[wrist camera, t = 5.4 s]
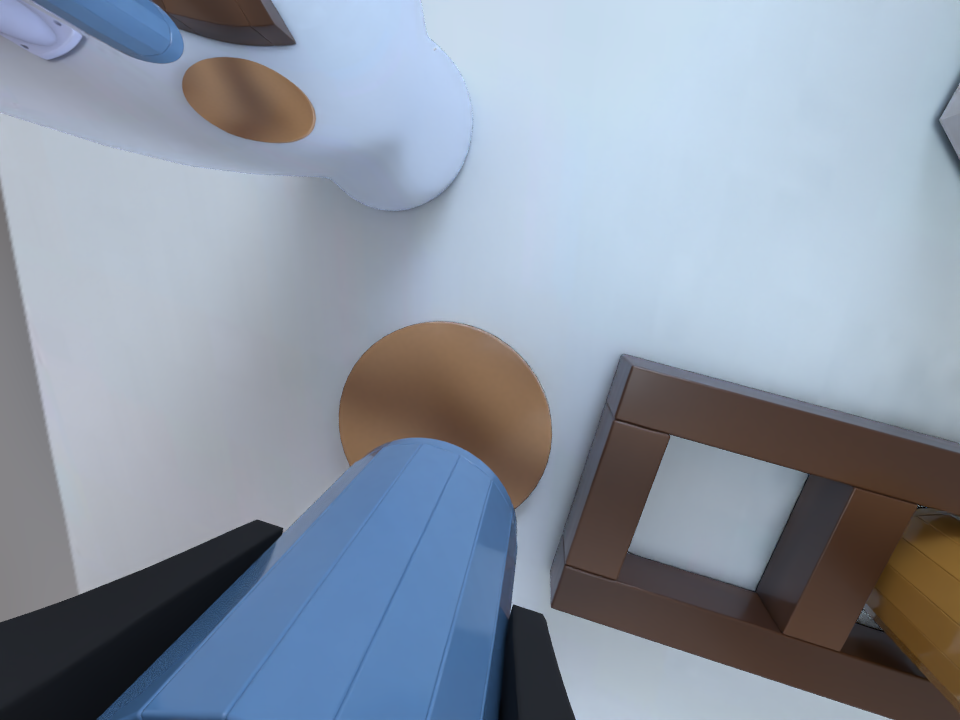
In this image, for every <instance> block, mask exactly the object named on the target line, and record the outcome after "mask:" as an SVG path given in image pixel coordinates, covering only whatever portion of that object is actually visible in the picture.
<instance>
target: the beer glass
mask: <svg viewBox="0 0 960 720" xmlns="http://www.w3.org/2000/svg"><path fill="white" fill-rule="evenodd" d="M0 113H2V114H5V115H9V116H12V117H15V118H18V119H21V120H24V121H28V122H31V123H34V124H37V125H40V126H44V127H47V128H50V129H53V130H56V131H60V132H63V133H66V134H69V135H72V136H76V137H79V138H82V139H85V140H88V141H92V142H95V143H98V144H101V145H105V146H108V147H112V148H116V149H120V150H124V151H129V152H133V153H137V154H141V155H145V156H149V157H153V158H157V159H162V160H166V161H170V162H174V163H178V164H182V165H187V166H192V167H199V168H206V169H214V170H222V171H230V172H238V173H246V174H256V175H277V176H299V177H323V178H329V179H331V180H332V181H333V182H334V183H335V184H336V185H337V186H338V187H339V188H340V189H341V190H343V191H344V192H345V193H346V194H347V195H349V196H350V197H352V198H353V199H355V200H356V201H358V202H360V203H362V204H364V205H366V206H369V207H372V208H375V209H379V210H386V211H401V210H407V209H412V208H415V207H418V206H420V205H423V204H425V203H427V202H429V201H431V200H432V199H434V198H435V197H437V196H438V195H439V194H441V193H442V192H443V191H444V190H445V189H446V188H447V187H448V186H449V185H450V184H451V182H452V181H453V180H454V179H455V177H456V176H457V174H458V173H459V171H460V169H461V167H462V166H463V164H464V161H465V159H466V156H467V153H468V150H469V147H470V143H471V137H472V129H473V113H472V105H471V99H470V95H469V92H468V89H467V86H466V83H465V81H464V79H463V77H462V75H461V73H460V71H459V70H458V68H457V66H456V65H455V64H454V62H453V61H452V59H451V58H450V57H449V56H448V55H447V54H446V53H445V52H444V51H443V50H442V49H441V48H440V47H439V46H438V45H437V44H436V43H435V42H434V41H433V40H432V39H430V38H429V36H428V33H427V29H426V24H425V19H424V13H423V7H422V1H421V0H0Z"/></svg>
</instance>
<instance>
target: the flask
mask: <svg viewBox="0 0 960 720" xmlns="http://www.w3.org/2000/svg"><path fill="white" fill-rule="evenodd" d="M939 121H940V123H941V125H942V126H943V128H944V130H945V132H946V134H947V136H948V138H949V140H950V142H951V144H952V146H953V148H954V150H955V152H956V153H957V155H958V157H959V159H960V84H959V85H958V87H957V89H956V91H955V93H954V94H953V96H952V98H951V100H950V102H949V103H948V105H947V107H946V109H945V111H944V112H943V114H942V116H941V118H940V120H939Z"/></svg>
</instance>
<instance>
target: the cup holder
mask: <svg viewBox="0 0 960 720" xmlns="http://www.w3.org/2000/svg"><path fill="white" fill-rule="evenodd" d="M669 434H670V435H673V436H677V437H680V438H684V439H687V440H691V441H695V442H698V443H702V444H705V445H709V446H712V447H716V448H719V449H723V450H726V451H730V452H734V453H737V454H741V455H744V456H748V457H751V458H755V459H758V460H762V461H766V462H769V463H773V464H776V465H780V466H783V467H787V468H790V469H794V470H798V471H801V472H805V473H808V474H810V475H809V477H808V479H807V482H806V484H805V486H804V488H803V490H802V492H801V494H800V497H799V499H798V501H797V503H796V505H795V507H794V510H793V512H792V514H791V516H790V518H789V520H788V523H787V525H786V527H785V529H784V531H783V533H782V536H781V538H780V540H779V542H778V544H777V546H776V548H775V551H774V553H773V555H772V557H771V559H770V561H769V564H768V566H767V568H766V570H765V572H764V574H763V577H762V579H761V581H760V583H759V585H758V587H757V589H756V592H752V591H749V590H746V589H743V588H740V587H736V586H733V585H730V584H727V583H723V582H720V581H717V580H714V579H710V578H707V577H704V576H701V575H698V574H694V573H691V572H688V571H685V570H681V569H678V568H675V567H672V566H668V565H665V564H662V563H659V562H656V561H652V560H649V559H646V558H643V557H639V556H636V555H633V554H630V553H627V551H628V549H629V546H630V543H631V541H632V538H633V535H634V533H635V530H636V527H637V525H638V522H639V519H640V517H641V514H642V511H643V509H644V506H645V503H646V501H647V498H648V495H649V492H650V490H651V487H652V484H653V482H654V479H655V476H656V474H657V471H658V468H659V466H660V463H661V460H662V458H663V455H664V452H665V450H666V447H667V444H668V442H669V439H670V435H669ZM917 504H918V505H922V506H925V507H929V508H933V509H936V510H940V511H943V512H947V513H950V514H954V515H957V516H960V443H956V442H952V441H948V440H945V439H941V438H937V437H934V436H930V435H926V434H922V433H919V432H915V431H911V430H907V429H904V428H900V427H896V426H892V425H889V424H885V423H881V422H877V421H874V420H870V419H866V418H862V417H859V416H855V415H851V414H847V413H844V412H840V411H836V410H832V409H829V408H825V407H821V406H817V405H814V404H810V403H806V402H802V401H799V400H795V399H791V398H787V397H784V396H780V395H776V394H772V393H769V392H765V391H761V390H757V389H754V388H750V387H746V386H742V385H739V384H735V383H731V382H727V381H724V380H720V379H716V378H712V377H709V376H705V375H701V374H697V373H694V372H690V371H686V370H682V369H679V368H675V367H671V366H667V365H664V364H660V363H656V362H653V361H649V360H645V359H641V358H638V357H634V356H630V355H626V354H622V355H621V358H620V361H619V364H618V367H617V370H616V373H615V376H614V379H613V382H612V385H611V388H610V391H609V394H608V397H607V403H606V404H605V407H604V410H603V413H602V416H601V419H600V422H599V425H598V428H597V431H596V434H595V437H594V440H593V443H592V446H591V449H590V452H589V455H588V458H587V461H586V464H585V467H584V470H583V473H582V476H581V479H580V482H579V485H578V489H577V492H576V495H575V498H574V501H573V504H572V507H571V510H570V513H569V516H568V519H567V522H566V525H565V528H564V531H563V532H564V533H563V535H562V537H561V540H560V543H559V546H558V549H557V552H556V555H555V558H554V561H553V564H552V567H551V570H550V587H551V608H553V609H556V610H559V611H562V612H565V613H568V614H571V615H575V616H578V617H581V618H584V619H587V620H590V621H593V622H596V623H599V624H602V625H605V626H608V627H611V628H614V629H617V630H620V631H624V632H627V633H630V634H633V635H636V636H639V637H642V638H645V639H648V640H651V641H654V642H657V643H660V644H663V645H666V646H669V647H672V648H676V649H679V650H682V651H685V652H688V653H691V654H694V655H697V656H700V657H703V658H706V659H709V660H712V661H715V662H718V663H721V664H725V665H728V666H731V667H734V668H737V669H740V670H743V671H746V672H749V673H752V674H755V675H758V676H761V677H764V678H767V679H770V680H774V681H777V682H780V683H783V684H786V685H789V686H792V687H795V688H798V689H801V690H804V691H807V692H810V693H813V694H816V695H819V696H822V697H826V698H829V699H832V700H835V701H838V702H841V703H844V704H847V705H850V706H853V707H856V708H859V709H862V710H865V711H868V712H871V713H875V714H878V715H881V716H884V717H887V718H890V719H893V720H960V713H959V712H958V711H957V710H956V709H955V708H954V706H953V705H952V704H951V703H950V702H949V701H948V700H947V699H946V698H945V697H944V696H943V695H942V694H941V692H940V691H939V690H938V689H937V688H936V687H935V686H934V685H933V684H932V683H931V682H930V681H929V679H928V678H927V677H926V676H925V675H924V674H923V673H922V672H921V671H920V670H919V669H918V668H917V667H916V665H915V664H914V663H913V662H912V661H911V660H910V659H909V658H908V657H907V656H906V655H905V654H904V652H903V651H902V650H901V649H900V648H899V647H898V646H897V645H896V644H895V643H894V642H893V641H892V639H891V638H890V637H889V636H888V635H887V634H886V633H885V632H882V631H878V630H875V629H872V628H869V627H866V626H862V625H859V624H856V623H855V622H856V621H857V619H858V617H859V615H860V613H861V611H862V609H863V608H864V606H865V604H866V602H867V600H868V598H869V596H870V595H871V593H872V591H873V589H874V587H875V585H876V583H877V581H878V580H879V578H880V576H881V574H882V572H883V570H884V568H885V567H886V565H887V563H888V561H889V559H890V557H891V555H892V554H893V552H894V550H895V548H896V546H897V544H898V542H899V540H900V539H901V537H902V535H903V533H904V531H905V529H906V527H907V526H908V524H909V522H910V520H911V518H912V516H913V514H914V512H915V511H916V509H917V507H918V505H917Z"/></svg>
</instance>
